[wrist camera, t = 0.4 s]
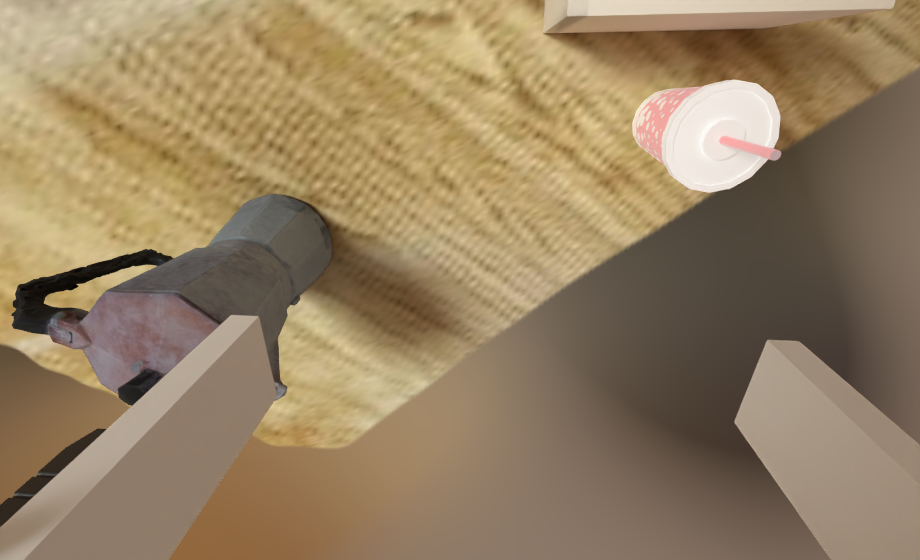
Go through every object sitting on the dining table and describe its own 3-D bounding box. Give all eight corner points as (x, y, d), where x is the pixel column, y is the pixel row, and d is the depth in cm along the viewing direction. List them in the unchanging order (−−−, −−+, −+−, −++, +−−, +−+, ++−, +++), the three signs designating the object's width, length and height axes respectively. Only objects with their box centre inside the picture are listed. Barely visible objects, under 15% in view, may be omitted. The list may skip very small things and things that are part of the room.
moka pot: (351, 309, 41) (244, 492, 23) (194, 257, 40) (-48, 410, 22) (375, 223, 37) (267, 365, 19) (200, 161, 35) (-93, 252, 18)
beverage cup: (605, 123, 32) (678, 157, 20) (674, 57, 30) (806, 47, 17) (653, 179, 34) (749, 243, 21) (723, 120, 31) (876, 153, 19)
